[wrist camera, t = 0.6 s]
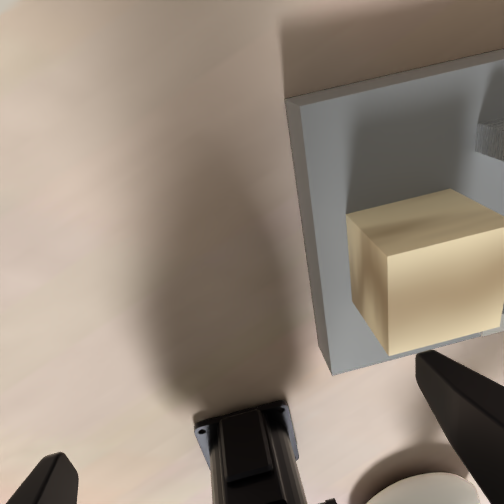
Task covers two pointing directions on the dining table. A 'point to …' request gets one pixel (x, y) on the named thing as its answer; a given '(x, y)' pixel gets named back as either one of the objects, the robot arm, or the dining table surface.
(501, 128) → the channel rails
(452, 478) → the flower in vase
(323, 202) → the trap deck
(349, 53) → the dining table surface
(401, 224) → the beech block
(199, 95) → the dining table surface
